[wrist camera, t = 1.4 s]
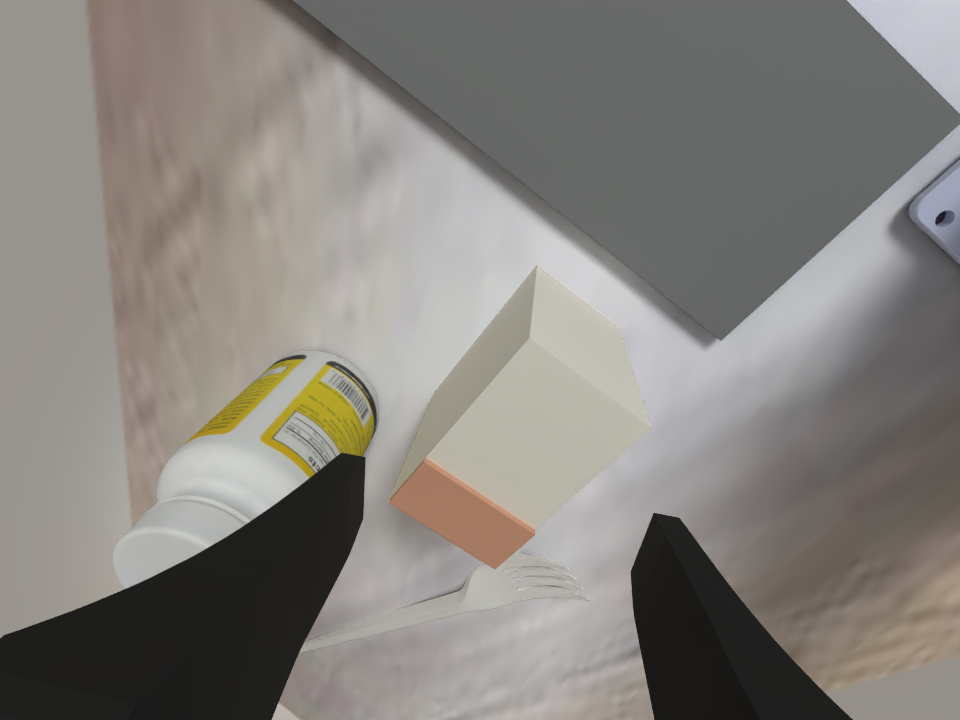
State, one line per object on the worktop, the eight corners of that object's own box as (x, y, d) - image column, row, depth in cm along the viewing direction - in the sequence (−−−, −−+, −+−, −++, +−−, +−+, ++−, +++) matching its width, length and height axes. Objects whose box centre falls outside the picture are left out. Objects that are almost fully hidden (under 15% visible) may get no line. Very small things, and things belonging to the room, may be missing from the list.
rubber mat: (952, 119, 15) (964, 119, 14) (716, 335, 18) (720, 340, 18) (395, -436, 12) (389, -458, 11) (249, -37, 15) (240, -42, 15)
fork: (280, 622, 31) (264, 651, 29) (564, 531, 24) (564, 562, 22) (312, 654, 32) (298, 683, 30) (594, 575, 25) (596, 608, 23)
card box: (619, 327, 19) (653, 431, 13) (509, 440, 22) (491, 573, 15) (537, 264, 18) (529, 340, 12) (435, 390, 21) (385, 506, 15)
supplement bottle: (265, 433, 23) (96, 617, 15) (269, 332, 21) (69, 482, 12) (374, 463, 23) (269, 666, 15) (391, 365, 21) (276, 540, 12)
